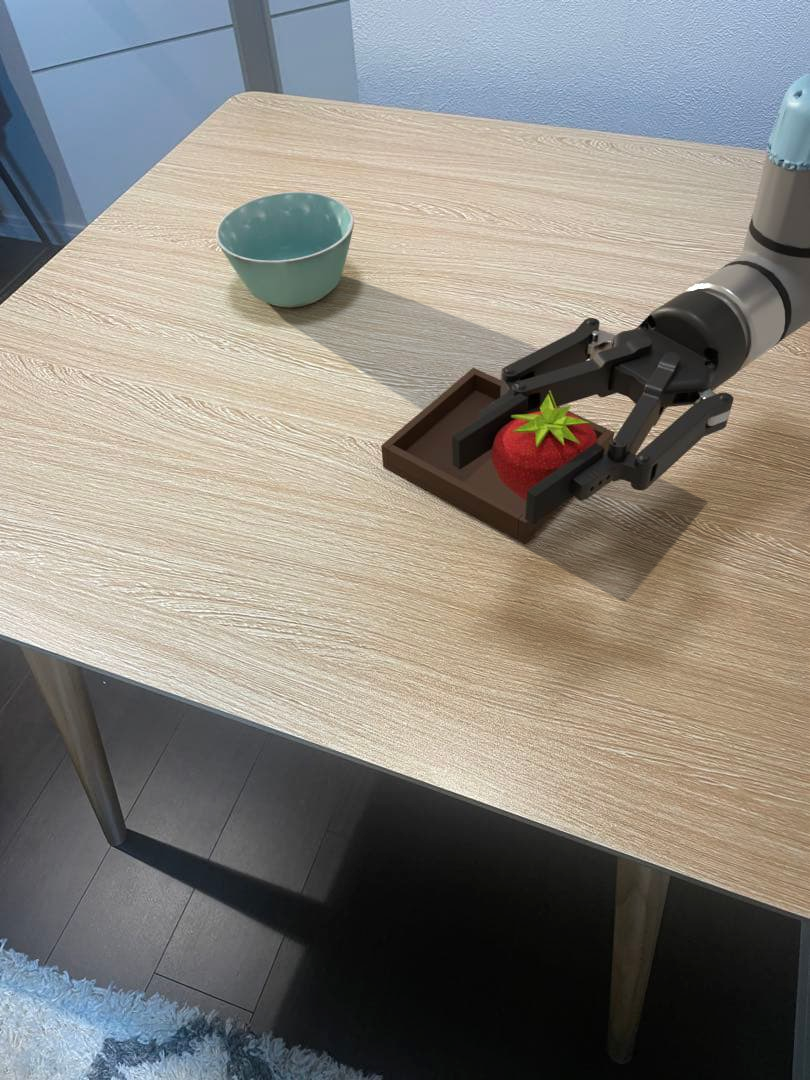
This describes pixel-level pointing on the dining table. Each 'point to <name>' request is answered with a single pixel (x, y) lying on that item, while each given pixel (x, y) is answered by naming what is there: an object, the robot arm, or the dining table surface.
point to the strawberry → (538, 445)
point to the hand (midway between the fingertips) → (492, 479)
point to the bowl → (288, 245)
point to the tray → (476, 486)
